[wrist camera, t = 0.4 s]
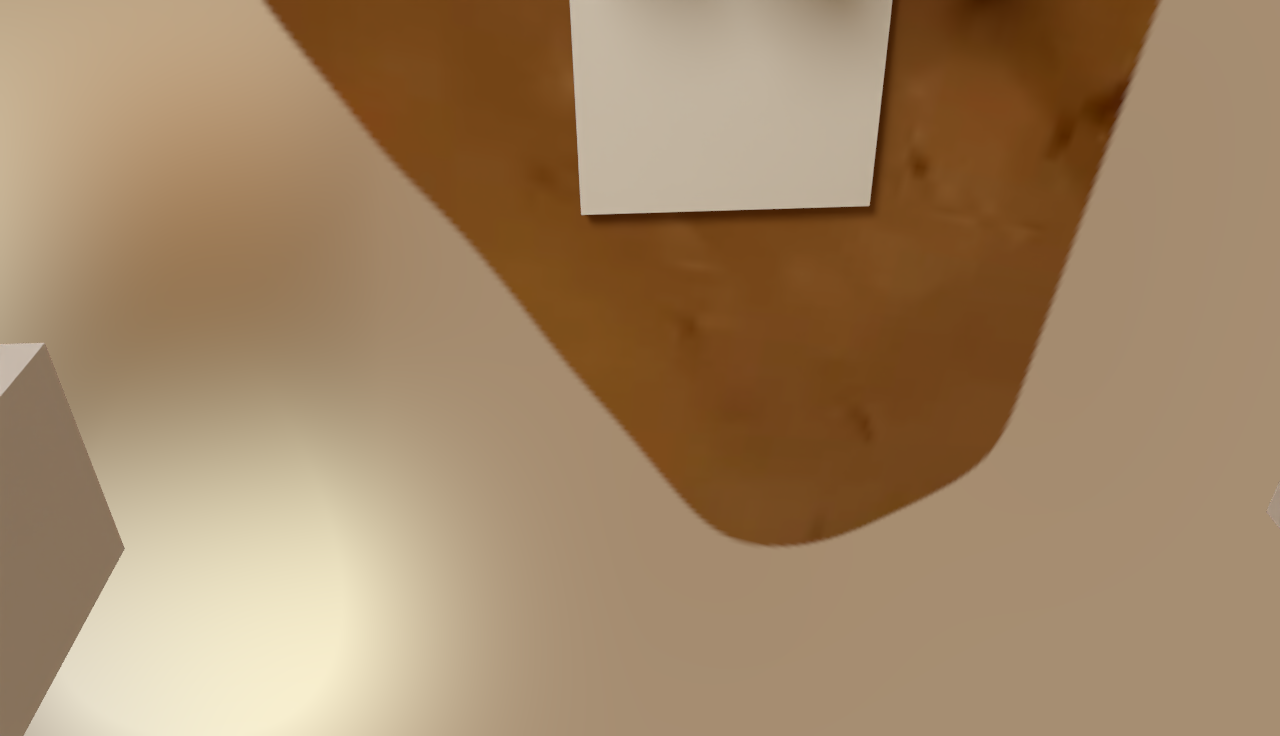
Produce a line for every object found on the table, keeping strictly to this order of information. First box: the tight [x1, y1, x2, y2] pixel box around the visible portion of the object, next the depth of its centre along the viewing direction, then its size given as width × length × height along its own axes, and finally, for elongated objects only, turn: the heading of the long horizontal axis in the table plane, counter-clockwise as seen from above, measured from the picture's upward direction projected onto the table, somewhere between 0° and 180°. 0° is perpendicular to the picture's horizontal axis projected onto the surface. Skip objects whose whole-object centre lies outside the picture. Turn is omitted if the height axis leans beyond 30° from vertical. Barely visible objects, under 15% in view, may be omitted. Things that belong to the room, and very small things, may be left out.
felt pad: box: [570, 0, 892, 215], centre depth 34 cm, size 10×10×1 cm
